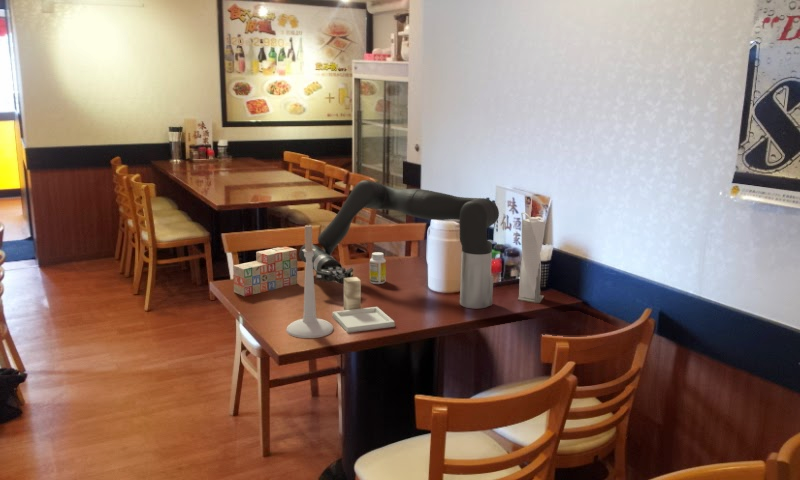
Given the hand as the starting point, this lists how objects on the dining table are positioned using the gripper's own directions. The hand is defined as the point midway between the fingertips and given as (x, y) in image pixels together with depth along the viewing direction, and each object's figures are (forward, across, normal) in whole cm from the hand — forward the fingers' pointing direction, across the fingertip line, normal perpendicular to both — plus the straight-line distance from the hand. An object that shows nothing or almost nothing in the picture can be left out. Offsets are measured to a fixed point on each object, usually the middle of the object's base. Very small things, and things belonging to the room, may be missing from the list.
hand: (343, 281), depth 210 cm
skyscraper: (+16, +58, +7) cm, 60 cm away
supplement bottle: (-17, +18, +7) cm, 26 cm away
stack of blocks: (-23, -19, +7) cm, 31 cm away
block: (+9, 0, +7) cm, 11 cm away
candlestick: (+20, -16, +7) cm, 27 cm away
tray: (+19, 0, +7) cm, 20 cm away
